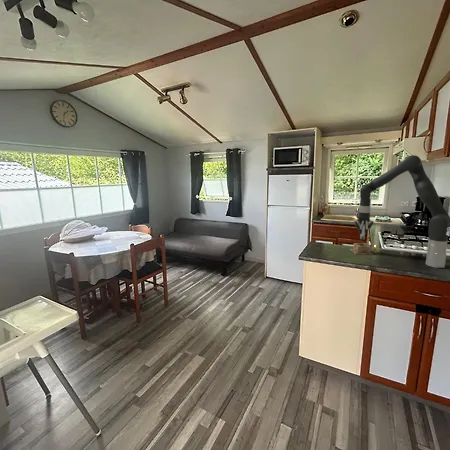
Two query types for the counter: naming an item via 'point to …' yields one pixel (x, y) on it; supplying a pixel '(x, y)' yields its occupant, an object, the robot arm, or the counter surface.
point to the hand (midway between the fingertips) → (362, 233)
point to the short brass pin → (376, 248)
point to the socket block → (361, 249)
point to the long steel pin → (363, 232)
